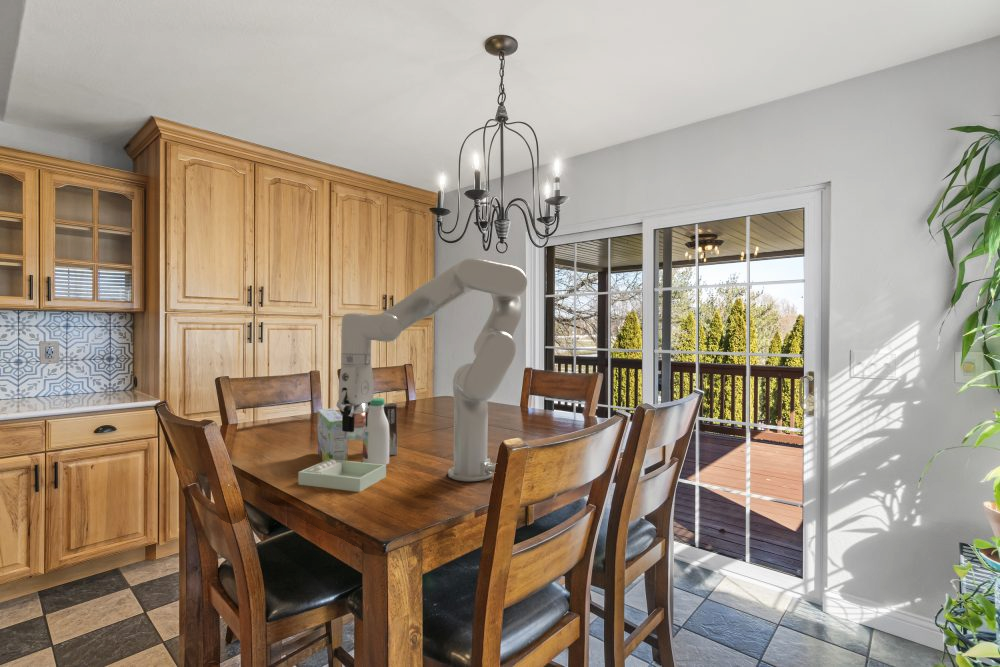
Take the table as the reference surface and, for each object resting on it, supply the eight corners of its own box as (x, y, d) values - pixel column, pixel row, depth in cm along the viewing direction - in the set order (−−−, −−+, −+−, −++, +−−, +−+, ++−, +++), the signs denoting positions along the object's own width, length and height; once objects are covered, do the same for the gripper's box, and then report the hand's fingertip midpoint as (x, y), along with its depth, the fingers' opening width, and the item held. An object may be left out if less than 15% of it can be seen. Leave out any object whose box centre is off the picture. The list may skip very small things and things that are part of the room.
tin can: (369, 436, 132) (370, 399, 132) (358, 440, 127) (358, 402, 126) (351, 434, 133) (352, 397, 133) (339, 439, 128) (340, 400, 128)
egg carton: (341, 474, 136) (341, 459, 136) (321, 484, 128) (321, 467, 128) (329, 472, 138) (329, 457, 137) (308, 482, 129) (308, 466, 129)
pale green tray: (385, 479, 135) (386, 464, 135) (359, 494, 122) (359, 478, 122) (329, 473, 140) (329, 459, 140) (298, 487, 127) (298, 471, 127)
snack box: (316, 456, 158) (316, 409, 158) (334, 454, 161) (334, 407, 160) (328, 473, 140) (329, 420, 139) (349, 471, 142) (349, 419, 142)
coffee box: (397, 450, 166) (397, 402, 166) (397, 455, 160) (397, 406, 159) (369, 451, 164) (369, 403, 164) (367, 456, 158) (368, 406, 158)
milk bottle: (392, 462, 152) (393, 397, 151) (384, 469, 144) (384, 401, 144) (368, 461, 152) (368, 396, 152) (358, 468, 145) (359, 400, 144)
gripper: (350, 363, 120) (348, 437, 121) (385, 359, 137) (384, 424, 137) (323, 361, 122) (322, 434, 123) (361, 358, 139) (360, 422, 139)
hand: (355, 428), depth 130 cm, fingers closed on tin can, 5 cm apart
